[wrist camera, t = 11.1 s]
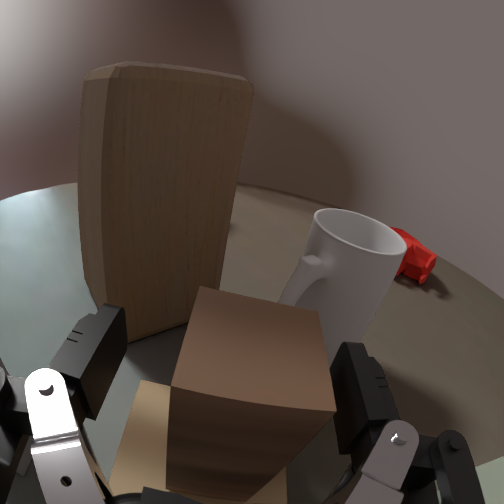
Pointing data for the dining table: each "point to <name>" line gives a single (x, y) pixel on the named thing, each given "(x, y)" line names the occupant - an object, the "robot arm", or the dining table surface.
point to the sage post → (490, 481)
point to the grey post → (27, 451)
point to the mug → (344, 274)
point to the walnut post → (244, 394)
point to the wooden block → (157, 185)
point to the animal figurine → (415, 258)
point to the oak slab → (164, 452)
